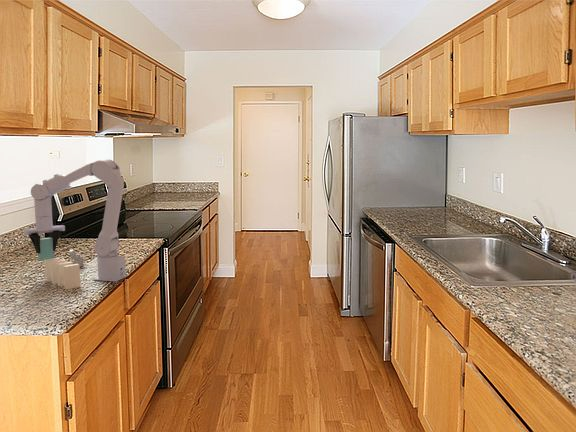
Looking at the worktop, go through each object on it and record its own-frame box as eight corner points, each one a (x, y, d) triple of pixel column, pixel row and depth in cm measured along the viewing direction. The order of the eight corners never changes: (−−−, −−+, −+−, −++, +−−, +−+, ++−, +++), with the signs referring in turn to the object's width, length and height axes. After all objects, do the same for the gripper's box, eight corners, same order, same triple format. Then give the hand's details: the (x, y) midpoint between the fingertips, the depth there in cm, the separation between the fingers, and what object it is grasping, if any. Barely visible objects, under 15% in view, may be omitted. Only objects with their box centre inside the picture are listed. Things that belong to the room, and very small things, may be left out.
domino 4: (80, 286, 189) (79, 264, 188) (66, 289, 186) (65, 266, 184) (78, 285, 190) (77, 263, 189) (64, 288, 187) (63, 266, 185)
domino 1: (61, 279, 199) (59, 258, 198) (47, 281, 196) (46, 260, 194) (59, 278, 200) (58, 257, 199) (45, 280, 197) (44, 259, 195)
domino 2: (67, 281, 196) (66, 260, 195) (53, 284, 192) (52, 262, 191) (65, 280, 197) (64, 259, 196) (51, 283, 193) (50, 261, 192)
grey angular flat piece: (79, 265, 221) (78, 246, 220) (83, 265, 221) (82, 246, 220) (69, 269, 214) (68, 250, 213) (73, 269, 214) (72, 250, 213)
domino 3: (73, 283, 193) (72, 262, 191) (59, 286, 189) (58, 264, 188) (71, 283, 194) (70, 261, 192) (57, 285, 190) (56, 263, 189)
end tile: (53, 258, 202) (52, 238, 200) (40, 261, 198) (39, 239, 197) (51, 258, 203) (50, 237, 202) (38, 260, 199) (37, 239, 198)
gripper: (58, 213, 206) (60, 247, 208) (18, 216, 195) (21, 253, 197) (66, 214, 201) (68, 250, 203) (26, 218, 191) (29, 256, 193)
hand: (45, 251), depth 200 cm, fingers closed on end tile, 5 cm apart
